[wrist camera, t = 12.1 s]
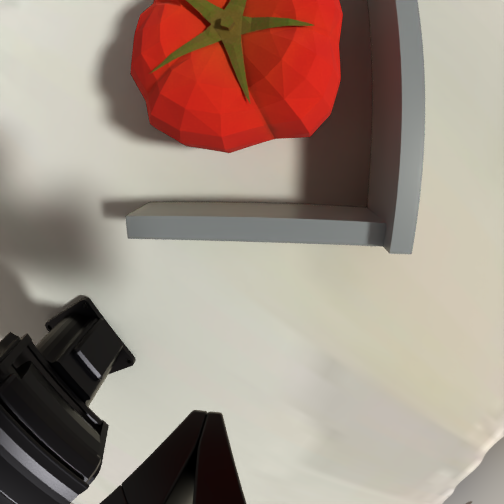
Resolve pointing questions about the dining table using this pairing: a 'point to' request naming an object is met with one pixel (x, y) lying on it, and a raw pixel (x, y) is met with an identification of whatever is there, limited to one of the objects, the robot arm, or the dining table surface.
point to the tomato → (237, 69)
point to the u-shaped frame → (381, 165)
